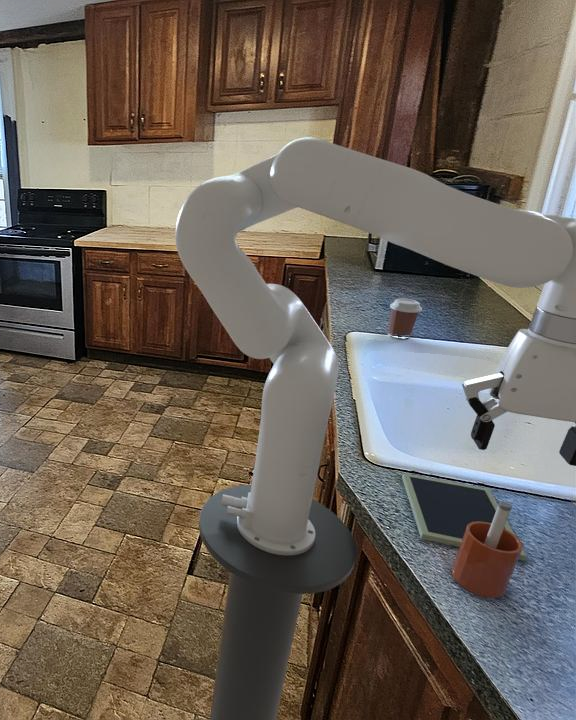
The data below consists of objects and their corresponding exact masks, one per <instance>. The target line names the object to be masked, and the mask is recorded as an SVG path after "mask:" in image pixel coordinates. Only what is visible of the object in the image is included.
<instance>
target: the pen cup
mask: <svg viewBox="0 0 576 720" xmlns="http://www.w3.org/2000/svg"><path fill="white" fill-rule="evenodd" d="M490 526H491V523H488V522H480V521H477V522H471V523H469V524H468V525H467V527H466V530H465V533H464V536H463V539H462V541H461V544H460V547H458V549H457V553H456V556H455V559H454V562H453V565H452V568H451V574H452V578H453V579H454V580H455V581H456V582H457V584H458V585H460V586H461V587H462V588H464V589H466V590H467V591H468V592H470V593H472V594H475V595H477V596H481V597H484V598H488V599H497V598H500V597H502V596H504V594H505V592H506V590H507V588H508V586H509V583H510V581H511V578H512V576H513V574H514V572H515V571H514V570H515V569H516V566H517V564H518V561H519V560H518V559H519V556H520V554H521V551H522V548H524V547H523V546H524V545H523V543H522V541H521V540H520V539H519V538H518V537H517V536H516V534H515V533H514V534H515V535H514V534H513V533H511V532H509V531H508V530H506V529H503V532H502V534H501V537H500V540H499V542H498V545H497V547H496V549H494V548H491V547H489V546H487V545H485V544H484V543H485V540H486V537H487V535H488V532H489V529H490Z"/></svg>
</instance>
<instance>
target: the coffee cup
mask: <svg viewBox="0 0 576 720" xmlns="http://www.w3.org/2000/svg"><path fill="white" fill-rule="evenodd" d="M389 308H390V309H391V312H390V316H389V317H390V318H389V326H388V333H387V336H388V337H390V336H396V335H392V334H390V333H393V334H397V335H410V336H408V337H411V335H412V333H413V329H414V327H415V324H416V321H417V319H418V315H419V313H421V312H422V310H423V307H422V306H421V305H420V301H417V300H415V299H411V298H396V299H395V300H394V301H393V302H391V303H390V304H389ZM389 332H390V333H389ZM398 337H402V336H398Z"/></svg>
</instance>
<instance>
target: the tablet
mask: <svg viewBox="0 0 576 720" xmlns="http://www.w3.org/2000/svg"><path fill="white" fill-rule="evenodd" d="M401 480H402V483H403V486H404V489H405V492H406V495H407V497H408V502H409V505H410V508H411V511H412V514H413V517H414V521H415V523H416V527H417V530H418V534H419V537H420V539H421V540H424V541H429V542H433V543H439V544H443V545H447V546H452V547H457V548H459V547H460V544H461V541H462V539H463V536H464V533H465V530H466V527H467V525H468V524H469V523H471V522H477V521H480V522H488V523H491V524H492V521H493V518H494V516H495V513H496V510H497V507H498V505H499V503H498V501H497V500H496V498H495V497H494V495H493V493H492V491H491V489H490V488H487V487H482V486H477V485H471V484H466V483H461V482H454V481H450V480H449V481H448V480H443V479H437V478H432V477H426V476H423V475H422V476H421V475H416V474H410V473H405V472H403V473H402V474H401ZM504 529H506V530H508V531H509V532H511V533H513V534H514V535H515V536H516V534H515V533H514V531H513V528H512V526H511V525H510V523H509V521H508V520H507V521H506V524H505V526H504ZM527 557H528V556H527V554H526V552H525V550H524V547H522V551H521V554H520V556H519V559H518V561H521V562H525V561H526V559H527Z"/></svg>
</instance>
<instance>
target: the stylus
mask: <svg viewBox="0 0 576 720" xmlns="http://www.w3.org/2000/svg"><path fill="white" fill-rule="evenodd" d="M512 508H513V506H512V504H511V503H509V502H507V501H504V500H503V501H502V500H501V501H499V502H498V507H497V510H496V513H495V516H494V518H493V521H492V524H491V526H490V529H489V532H488V535H487V537H486V540H485V543H484V544H485V545H487V546H489V547H491V548H494V549H496V547H497V545H498V542H499V540H500V537H501V534H502V532H503V529H504V526H505V524H506V521H507V522H508V518H509V516H510V514H511V511H512Z"/></svg>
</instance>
